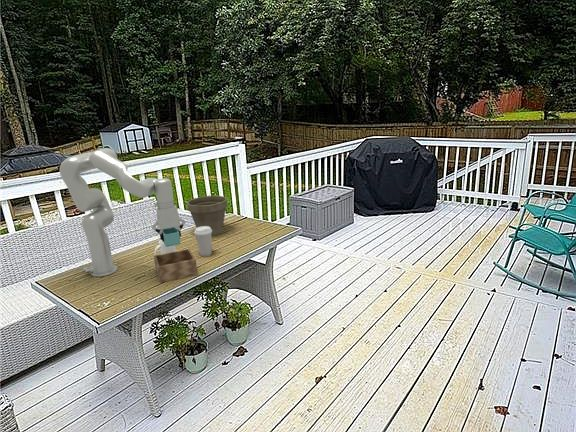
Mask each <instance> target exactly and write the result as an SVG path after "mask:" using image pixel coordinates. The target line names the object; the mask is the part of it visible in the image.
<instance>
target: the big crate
mask: <svg viewBox="0 0 576 432" xmlns="http://www.w3.org/2000/svg"><path fill="white" fill-rule="evenodd" d="M153 261H154V266H155V272H156V274H157V277H158V282H159V283H160V284H161V283H164V282H169V281H174V280H178V279H182V278H183V279H184V278H187V277H191V276H195V275H198V266H197V259H196V258H195V256H194V254H193V252H192V251H191V249H190V248H187V249H186V248H185V249H181V250H176V251H175V252H170V253H165V254H161V253H160V254H158V255H155V254H154V255H153Z"/></svg>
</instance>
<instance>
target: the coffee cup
mask: <svg viewBox="0 0 576 432" xmlns="http://www.w3.org/2000/svg"><path fill="white" fill-rule="evenodd" d="M211 232H212V229H211V228H210V227H209V226H201V227H198V228H196V227H195V230H194V235H195V238H196V241H197V246H198V253H199V255H200V256H202V257H207V256H211V255H212V253H213V252H212V251H213V249H212V246H213V245H212V241H213V240H212V236H211Z"/></svg>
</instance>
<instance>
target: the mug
mask: <svg viewBox="0 0 576 432" xmlns="http://www.w3.org/2000/svg"><path fill="white" fill-rule="evenodd" d="M176 246H177V245H174V246H169V247H166V246H165V244H164V242H163V241H162V240H161V239H160V240H159V241H158V245H157V246H156V247H155V248H154V256H155V255H159V254H158V250H159V252H160V254H165V253H170V252H175V251H177V248H176Z"/></svg>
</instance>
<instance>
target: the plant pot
mask: <svg viewBox="0 0 576 432" xmlns="http://www.w3.org/2000/svg"><path fill="white" fill-rule="evenodd" d="M186 206H187V210H188V211H189V212H190V215H191V217H192V219H193V222H194V225H195V229H196V228H198V227H201V226H209V227H210V228H211V229H212V232H211V237H214V236H217V235H219V234H221V233H222V232H223V228H224V224H225V218H226V217H225V216H226V209H227V207H228V198H227V197H225V196H223V195H221V196H220V195H207V196H206V195H205V196H200V197H194V198H191V199H189V200H188V201H187V202H186Z"/></svg>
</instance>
